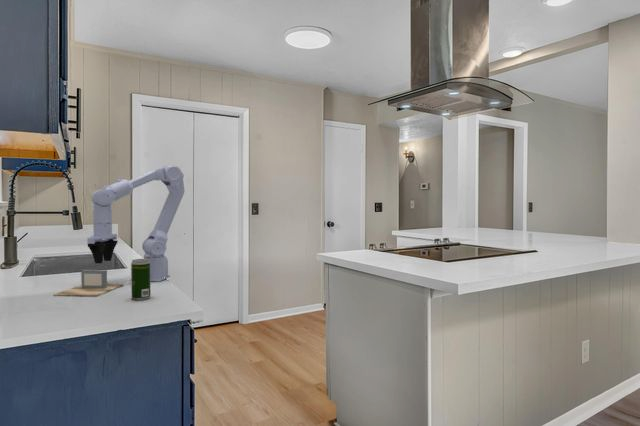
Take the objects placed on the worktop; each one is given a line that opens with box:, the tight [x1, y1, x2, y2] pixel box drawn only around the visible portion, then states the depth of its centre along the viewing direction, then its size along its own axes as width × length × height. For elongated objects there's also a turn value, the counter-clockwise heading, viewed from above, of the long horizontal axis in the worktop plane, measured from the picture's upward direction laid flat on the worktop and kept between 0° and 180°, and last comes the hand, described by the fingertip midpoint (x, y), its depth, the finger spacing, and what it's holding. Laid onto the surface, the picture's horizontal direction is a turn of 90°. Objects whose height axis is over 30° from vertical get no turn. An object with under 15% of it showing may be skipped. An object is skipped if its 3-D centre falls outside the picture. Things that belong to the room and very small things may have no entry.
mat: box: [52, 283, 124, 298], centre depth 135 cm, size 16×14×1 cm
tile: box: [80, 269, 108, 289], centre depth 137 cm, size 2×8×6 cm, turn 87°
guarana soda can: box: [130, 258, 151, 301], centre depth 125 cm, size 5×5×12 cm
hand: (103, 261), depth 142 cm, fingers open, 5 cm apart
